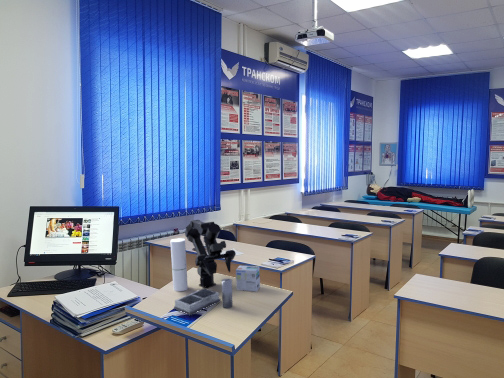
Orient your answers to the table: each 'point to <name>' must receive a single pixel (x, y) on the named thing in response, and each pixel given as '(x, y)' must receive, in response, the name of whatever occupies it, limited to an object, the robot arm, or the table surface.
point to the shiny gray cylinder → (227, 293)
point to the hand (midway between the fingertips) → (220, 273)
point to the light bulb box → (248, 278)
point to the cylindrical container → (179, 264)
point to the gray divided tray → (197, 301)
